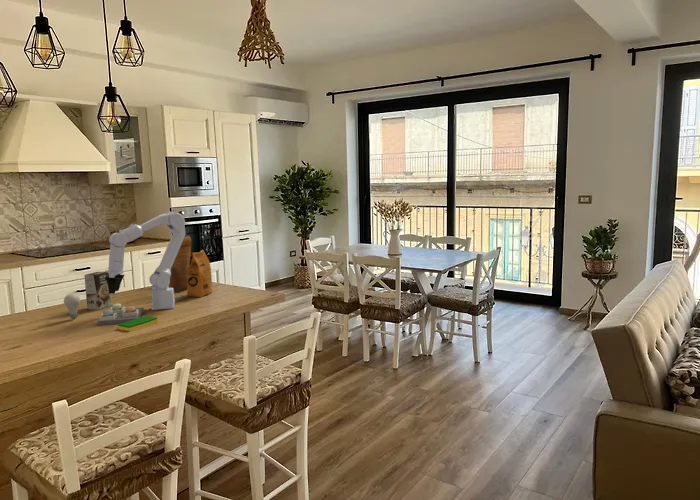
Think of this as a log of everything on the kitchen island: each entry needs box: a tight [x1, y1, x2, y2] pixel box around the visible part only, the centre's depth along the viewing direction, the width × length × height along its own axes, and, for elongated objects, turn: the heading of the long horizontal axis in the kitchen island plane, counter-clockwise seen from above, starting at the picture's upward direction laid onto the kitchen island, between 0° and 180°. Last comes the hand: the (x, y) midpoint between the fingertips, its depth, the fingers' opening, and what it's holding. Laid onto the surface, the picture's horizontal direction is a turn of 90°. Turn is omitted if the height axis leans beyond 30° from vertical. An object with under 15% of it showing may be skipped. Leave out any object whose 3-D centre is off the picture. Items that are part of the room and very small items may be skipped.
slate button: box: [102, 309, 113, 317], centre depth 208 cm, size 4×4×2 cm
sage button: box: [111, 303, 122, 310], centre depth 218 cm, size 4×4×2 cm
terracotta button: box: [125, 305, 136, 313], centre depth 213 cm, size 4×4×2 cm
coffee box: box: [84, 271, 113, 311], centre depth 233 cm, size 9×6×16 cm
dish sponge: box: [117, 315, 159, 332], centre depth 203 cm, size 7×14×2 cm, turn 153°
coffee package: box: [186, 249, 213, 298], centre depth 254 cm, size 10×12×22 cm
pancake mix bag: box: [168, 235, 192, 294], centre depth 264 cm, size 7×19×28 cm, turn 157°
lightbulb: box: [63, 293, 81, 320], centre depth 213 cm, size 6×6×11 cm
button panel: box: [96, 306, 145, 326], centre depth 215 cm, size 15×18×3 cm
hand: (113, 292), depth 218 cm, fingers open, 7 cm apart
